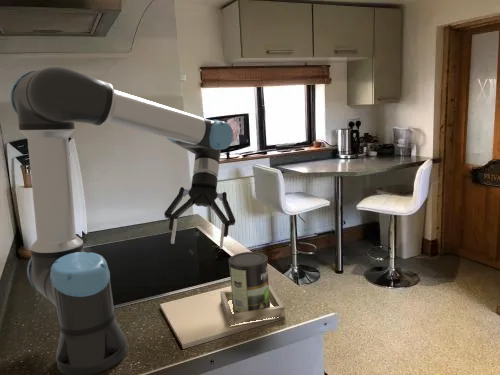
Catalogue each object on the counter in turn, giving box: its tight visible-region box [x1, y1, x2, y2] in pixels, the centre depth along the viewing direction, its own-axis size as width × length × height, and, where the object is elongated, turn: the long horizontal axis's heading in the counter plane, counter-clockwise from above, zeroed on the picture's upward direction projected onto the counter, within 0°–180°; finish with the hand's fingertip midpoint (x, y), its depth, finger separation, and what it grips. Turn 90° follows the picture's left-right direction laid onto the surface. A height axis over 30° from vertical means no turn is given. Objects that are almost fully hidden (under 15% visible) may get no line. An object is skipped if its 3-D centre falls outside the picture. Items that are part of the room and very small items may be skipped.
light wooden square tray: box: [219, 283, 286, 327], centre depth 114 cm, size 14×14×3 cm
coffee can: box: [228, 251, 270, 313], centre depth 113 cm, size 10×10×14 cm
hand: (196, 245), depth 118 cm, fingers open, 13 cm apart
